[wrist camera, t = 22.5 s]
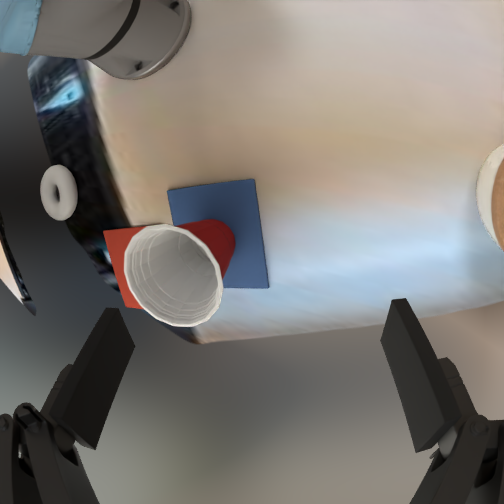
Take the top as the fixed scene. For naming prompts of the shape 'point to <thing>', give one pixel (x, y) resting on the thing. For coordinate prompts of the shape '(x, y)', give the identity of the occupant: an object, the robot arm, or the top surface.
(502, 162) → the white bowl with cork
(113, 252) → the red mat
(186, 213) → the blue mat
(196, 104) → the top surface
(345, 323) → the top surface
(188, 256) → the plastic cup
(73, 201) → the donut
